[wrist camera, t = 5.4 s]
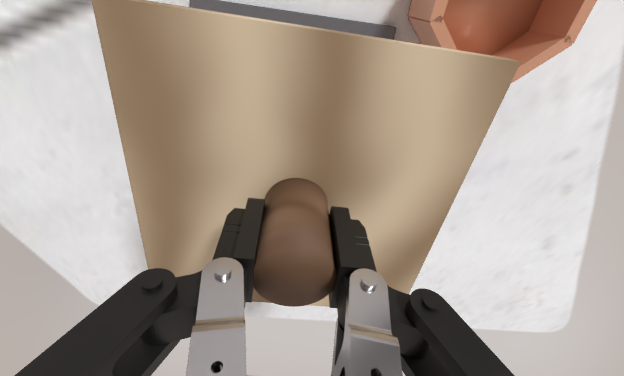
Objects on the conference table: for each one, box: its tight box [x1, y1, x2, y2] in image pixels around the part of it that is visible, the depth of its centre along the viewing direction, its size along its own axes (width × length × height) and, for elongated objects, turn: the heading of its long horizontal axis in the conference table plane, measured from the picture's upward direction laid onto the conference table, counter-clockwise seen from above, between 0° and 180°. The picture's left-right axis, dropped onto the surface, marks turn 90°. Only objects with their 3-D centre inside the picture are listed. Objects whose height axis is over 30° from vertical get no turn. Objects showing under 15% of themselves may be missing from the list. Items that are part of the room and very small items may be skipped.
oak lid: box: [92, 0, 521, 307], centre depth 13 cm, size 15×15×5 cm
